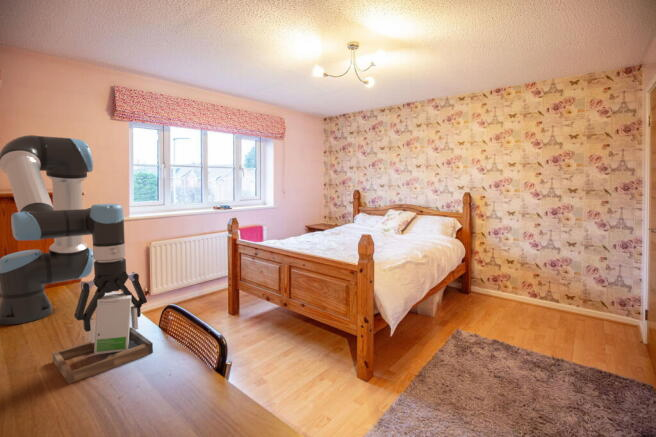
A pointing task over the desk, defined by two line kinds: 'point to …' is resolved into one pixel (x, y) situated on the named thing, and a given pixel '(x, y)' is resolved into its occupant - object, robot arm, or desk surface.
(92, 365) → the brown wooden shallow tray
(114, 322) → the skincare box
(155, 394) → the desk surface
